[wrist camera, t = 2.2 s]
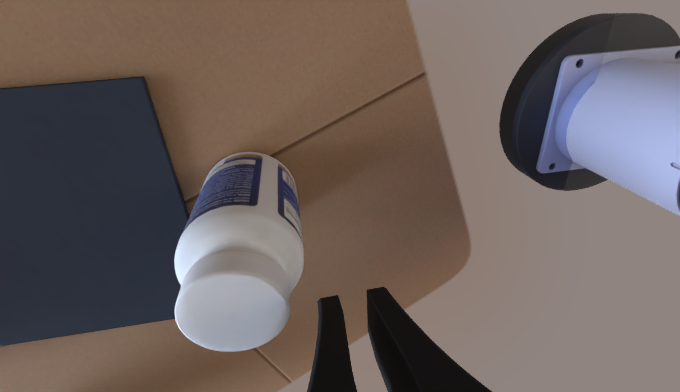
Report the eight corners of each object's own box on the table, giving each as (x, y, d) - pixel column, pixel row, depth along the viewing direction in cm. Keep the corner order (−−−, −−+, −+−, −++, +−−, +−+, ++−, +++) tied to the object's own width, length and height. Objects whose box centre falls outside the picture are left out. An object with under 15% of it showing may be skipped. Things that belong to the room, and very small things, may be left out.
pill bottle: (193, 212, 21) (133, 351, 12) (222, 134, 19) (175, 235, 10) (277, 238, 22) (275, 375, 14) (311, 170, 20) (334, 280, 12)
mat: (144, 76, 17) (141, 77, 16) (219, 307, 24) (218, 312, 24) (-343, 117, 15) (-359, 119, 14) (-93, 356, 22) (-98, 362, 22)
